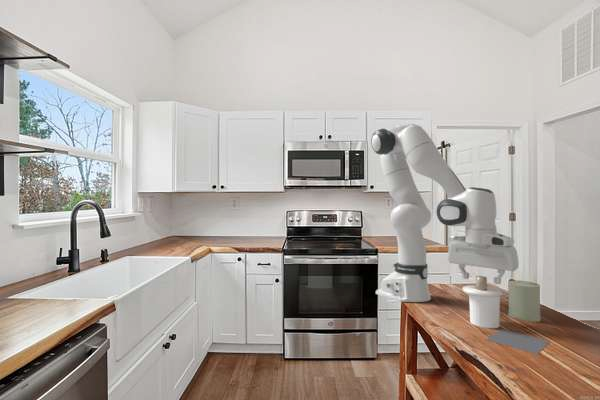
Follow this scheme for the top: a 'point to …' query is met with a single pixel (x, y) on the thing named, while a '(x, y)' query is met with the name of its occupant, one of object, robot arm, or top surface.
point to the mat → (518, 341)
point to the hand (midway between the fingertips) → (481, 280)
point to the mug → (484, 311)
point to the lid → (482, 289)
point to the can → (524, 300)
